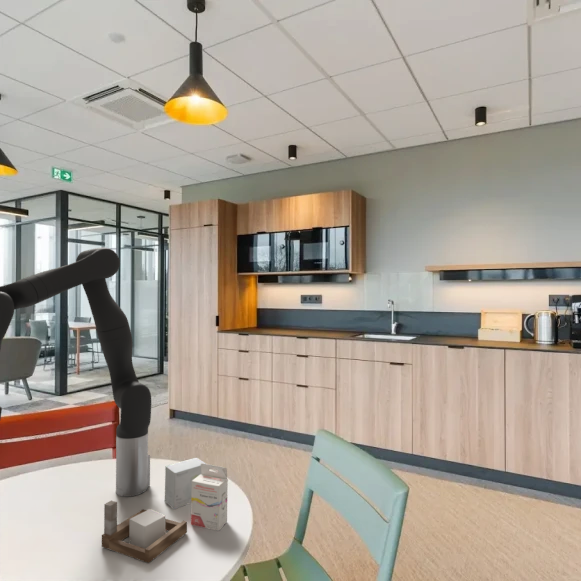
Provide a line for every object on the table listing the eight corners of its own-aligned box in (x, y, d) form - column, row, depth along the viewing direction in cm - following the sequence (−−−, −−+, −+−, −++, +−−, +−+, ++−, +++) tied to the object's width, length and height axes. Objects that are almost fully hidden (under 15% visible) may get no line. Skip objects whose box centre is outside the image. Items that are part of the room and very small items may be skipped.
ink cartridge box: (189, 525, 111) (190, 469, 111) (199, 516, 116) (200, 462, 116) (219, 531, 108) (219, 473, 108) (228, 522, 113) (228, 466, 113)
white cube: (129, 543, 103) (129, 518, 103) (149, 532, 108) (150, 508, 108) (144, 552, 100) (144, 526, 100) (165, 540, 104) (165, 515, 105)
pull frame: (142, 519, 113) (143, 482, 113) (186, 532, 107) (187, 493, 107) (101, 546, 101) (102, 505, 101) (148, 563, 95) (149, 519, 95)
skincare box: (174, 510, 119) (174, 472, 119) (164, 501, 124) (164, 465, 124) (206, 498, 126) (207, 462, 126) (195, 490, 131) (196, 456, 131)
